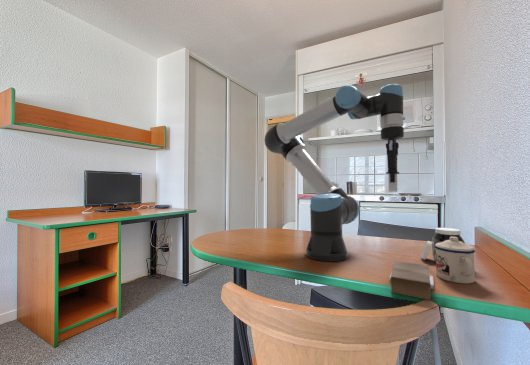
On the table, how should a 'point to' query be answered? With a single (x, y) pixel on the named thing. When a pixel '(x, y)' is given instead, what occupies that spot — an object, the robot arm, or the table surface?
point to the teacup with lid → (455, 261)
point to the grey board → (430, 282)
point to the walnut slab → (411, 279)
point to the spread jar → (441, 239)
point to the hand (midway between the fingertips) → (393, 191)
